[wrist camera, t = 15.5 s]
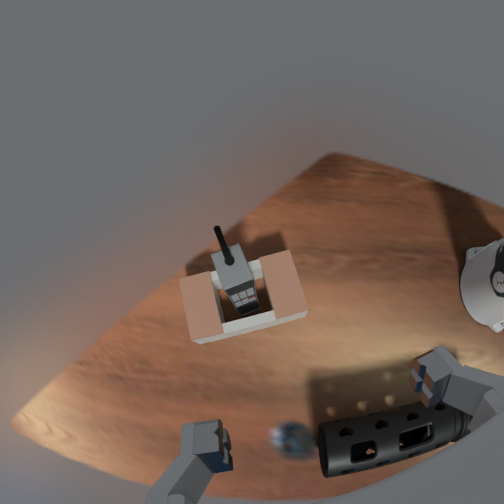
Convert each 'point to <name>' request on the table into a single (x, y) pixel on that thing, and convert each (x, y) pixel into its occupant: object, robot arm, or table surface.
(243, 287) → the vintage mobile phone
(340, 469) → the muzzle brake
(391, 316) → the table surface
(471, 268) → the robot arm
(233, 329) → the tan rectangular frame
